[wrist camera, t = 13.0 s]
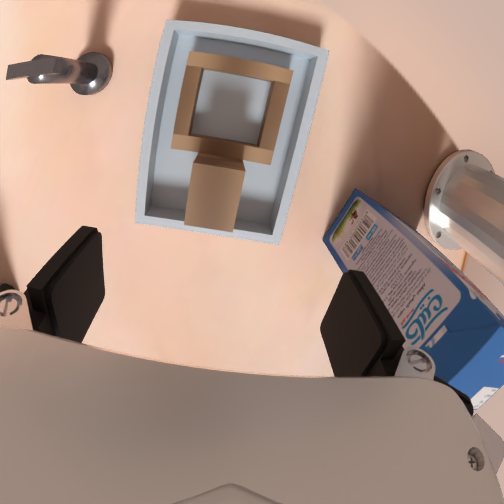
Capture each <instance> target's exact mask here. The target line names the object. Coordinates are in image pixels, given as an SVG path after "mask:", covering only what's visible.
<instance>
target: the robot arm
mask: <svg viewBox="0 0 504 504" xmlns="http://www.w3.org/2000/svg"><path fill="white" fill-rule="evenodd" d="M424 216H425V223H426V228H427V230H428V233H429V235H430V236H431V238H432V239H433V240H434V241H435V242H436V243H437V244H438V245H439V246H441V247H443V248H444V249H448V250H458V249H462V248H463V249H464V250H465V251H466V252H467V253H468V254H470V255H471V256H472V257H473V258H474V259H476V261H478V262H479V263H480V264H481V265H482V266H483V267H484V268H485V269H486V270H488V271H489V272H490V273H491V274H492V275H493V276H494V277H495V278H496V279H497V280H498V281H499V282H500V283H501V284H503V286H504V178H502V177H500V176H498V175H496V174H495V173H494V170H493V168H492V165H491V164H490V163H489V161H488V160H487V159H486V158H485V157H484V156H483V155H482V154H479V153H477V152H475V151H472V150H460V151H457V152H455V153H453V154H451V155H450V156H448V157H447V158H446V159H445V160H444V161H443V162H442V163H441V164H440V166H439V167H438V168H437V170H436V172H435V173H434V175H433V177H432V179H431V182H430V184H429V187H428V190H427V194H426V198H425V207H424ZM104 296H105V286H104V273H103V257H102V235H101V233H100V232H98V230H97V228H94V227H88V226H82V227H81V228H80V229H79V230H77V231H76V232H75V234H74V235H73V236H72V237H71V238H70V239H69V240H68V241H67V242H66V243H65V244H64V245H63V246H62V247H61V248H60V249H59V250H58V251H57V252H56V253H55V254H54V255H53V256H52V258H51V259H50V260H49V261H48V262H47V263H46V264H45V265H44V266H43V268H42V269H41V270H40V271H39V272H38V273H37V274H36V276H35V277H34V278H33V279H32V280H31V281H30V283H29V284H28V285H27V290H26V291H25V292H24V294H23V293H22V292H20V291H18V290H6V291H3V292H0V504H504V498H503V495H502V492H501V488H500V485H499V482H498V479H497V476H496V473H497V471H498V469H499V467H500V465H501V462H502V460H503V458H504V441H503V440H502V438H501V437H500V436H499V435H498V434H497V433H496V432H495V431H494V430H493V429H492V428H491V427H490V426H489V425H488V424H487V423H486V422H485V421H484V420H483V419H482V418H481V417H480V416H479V415H478V414H475V415H474V416H473V405H472V403H471V400H470V398H469V397H468V396H467V395H466V394H464V393H462V392H461V391H459V390H457V389H456V388H454V387H453V386H451V385H449V384H448V383H446V382H445V381H443V380H441V379H440V378H438V377H437V376H435V375H434V374H435V364H434V361H433V359H432V358H431V356H430V355H429V354H428V353H426V352H425V351H424V350H422V349H420V348H417V347H407V348H405V349H404V348H403V346H402V345H403V344H404V342H405V341H406V340H405V338H404V336H403V335H402V333H401V331H400V329H399V328H398V326H397V324H396V323H395V321H394V319H393V318H392V316H391V314H390V313H389V311H388V309H387V308H386V306H385V304H384V303H383V301H382V300H381V298H380V296H379V295H378V293H377V292H376V290H375V288H374V287H373V285H372V284H371V282H370V281H369V279H368V277H367V276H366V274H365V273H364V272H363V271H358V270H351V269H350V270H348V271H347V272H345V273H344V274H343V275H342V277H341V280H340V282H339V285H338V287H337V289H336V292H335V294H334V296H333V298H332V301H331V303H330V305H329V307H328V310H327V312H326V314H325V316H324V318H323V320H322V323H321V326H320V331H321V335H322V338H323V341H324V344H325V347H326V350H327V353H328V357H329V360H330V363H331V366H332V369H333V373H334V376H335V377H317V376H292V375H275V374H261V373H249V372H239V371H230V370H221V369H213V368H205V367H198V366H191V365H184V364H178V363H172V362H166V361H160V360H155V359H149V358H144V357H139V356H134V355H129V354H124V353H120V352H115V351H111V350H107V349H103V348H99V347H95V346H91V345H87V344H83V343H82V341H83V339H84V337H85V335H86V333H87V331H88V329H89V327H90V325H91V323H92V321H93V319H94V317H95V315H96V313H97V311H98V309H99V307H100V305H101V303H102V301H103V299H104Z"/></svg>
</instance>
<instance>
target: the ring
mask: <svg viewBox="0 0 504 504" xmlns="http://www.w3.org/2000/svg"><path fill="white" fill-rule="evenodd" d="M204 70H208V71H215V72H221V73H227V74H233V75H239V76H244V77H249V78H254V79H259V80H263V81H268V82H271V86H270V90H269V94H268V98H267V102H266V107H265V111H264V115H263V119H262V124H261V128H260V132H259V137H258V141H257V145H256V144H251V143H246V142H241V141H236V140H230V139H224V138H218V137H212V136H206V135H199V134H192V133H191V131H192V126H193V120H194V115H195V110H196V105H197V100H198V95H199V90H200V86H201V81H202V77H203V72H204ZM292 75H293V70H290V69H286V68H282V67H278V66H274V65H269V64H265V63H260V62H256V61H251V60H246V59H241V58H235V57H229V56H223V55H217V54H209V53H202V52H193V51H190V52H189V56H188V60H187V65H186V69H185V74H184V78H183V83H182V88H181V93H180V98H179V103H178V108H177V114H176V119H175V125H174V131H173V137H172V143H171V149H177V150H185V151H192V152H198V155H197V156H196V158H195V160H194V162H193V165H192V171H191V178H190V184H189V191H188V198H187V205H186V212H185V220H184V225H188V226H194V227H201V228H207V229H213V230H220V231H226V232H232V233H233V229H234V224H235V219H236V214H237V210H238V205H239V200H240V195H241V191H242V186H243V181H244V177H245V172H246V171H245V167H244V163H243V160H246V161H251V162H256V163H261V164H266V165H271V161H272V157H273V153H274V149H275V145H276V141H277V137H278V133H279V128H280V124H281V120H282V116H283V112H284V108H285V104H286V100H287V96H288V92H289V87H290V83H291V79H292Z"/></svg>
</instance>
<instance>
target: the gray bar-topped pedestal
mask: <svg viewBox="0 0 504 504" xmlns="http://www.w3.org/2000/svg"><path fill="white" fill-rule="evenodd" d="M111 76H112V63H111V61H110V60H109V58H108V57H107V56H105V55H103V54H100V53H96V52H91V53H87V54H84V55H83V56H81V57H80V58H79V59H78V60H75V59H69V58H63V57H57V56H50V55H42V54H41V55H37V56H36V57H34V58H33V59H32V60H31V61H28V62H22V63H17V64H12V65H8V70H7V76H6V80H12V79H20V78H27V79H28V81H29V82H30V83H33V84H39V83H70V85H71V87H72V89H73V90H74V91H75V92H76V93H78V94H81V95H92V94H96V93H98V92H100V91H101V90H103V89H104V88H105V87H106V86H107V84H108V83H109V81H110V79H111Z"/></svg>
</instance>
